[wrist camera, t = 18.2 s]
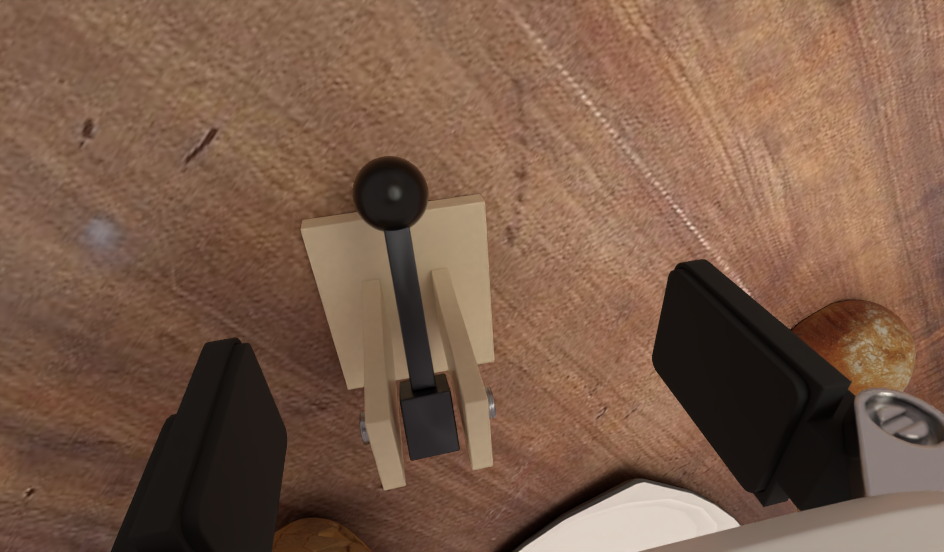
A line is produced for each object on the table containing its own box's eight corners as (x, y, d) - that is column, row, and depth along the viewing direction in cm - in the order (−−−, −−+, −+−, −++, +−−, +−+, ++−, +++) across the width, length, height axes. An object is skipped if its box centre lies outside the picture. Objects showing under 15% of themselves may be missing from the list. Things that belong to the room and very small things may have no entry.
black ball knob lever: (349, 165, 22) (341, 157, 18) (420, 156, 22) (424, 146, 19) (398, 435, 23) (398, 469, 20) (462, 421, 24) (472, 452, 21)
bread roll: (817, 344, 47) (921, 383, 41) (760, 413, 44) (865, 467, 38) (826, 266, 42) (948, 298, 36) (762, 338, 38) (885, 387, 32)
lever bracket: (302, 219, 26) (270, 366, 16) (480, 193, 27) (549, 314, 18) (348, 377, 33) (344, 549, 23) (490, 350, 34) (544, 502, 24)
